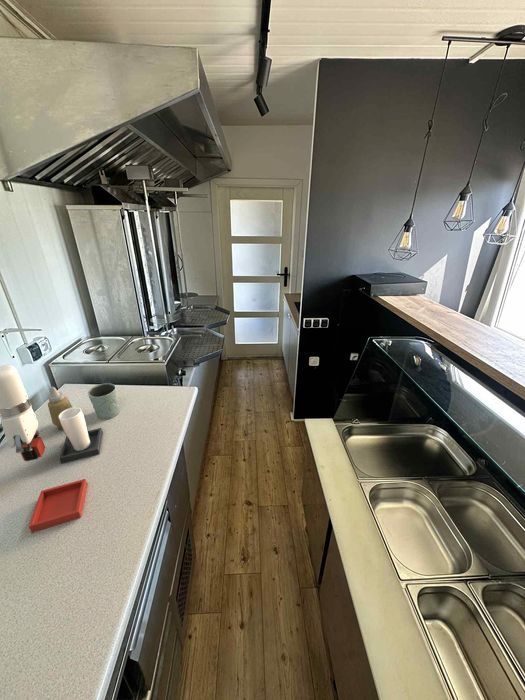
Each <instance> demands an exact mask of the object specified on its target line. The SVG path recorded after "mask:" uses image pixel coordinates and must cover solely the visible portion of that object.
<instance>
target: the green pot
mask: <svg viewBox="0 0 525 700" xmlns="http://www.w3.org/2000/svg"><path fill="white" fill-rule="evenodd" d="M87 395H88V398H89V400H90V402H91V404H92V407H93V409H94V412H95V416H96V417H97V419H99V420H101V421H106V420H111V419H113V418H115V417H116V416H118V415H119V413H120V404H119V400H118V393H117V386H116V385H115V384H113V383H111V382H104V383H100V384H96V385H94V386H93V387H91V388H90V389H89V390H88V391H87Z"/></svg>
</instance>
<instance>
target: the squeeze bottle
mask: <svg viewBox="0 0 525 700" xmlns="http://www.w3.org/2000/svg"><path fill="white" fill-rule="evenodd" d="M47 408H48V411H49V414H50V418H51V422H52V424H53V425H54V426H55V427H56V428H58V430H60V431H64V429H63V428H62V425H61V423H60V420H59V414H60V413H61V412H63V411H64V410H66V409H69V408H73V405H72V403H71V402H70V399H69V398H68V397H67V396H64V393H63V392H62V391H58V389H56V387H55V386H50V395H49V396H48V402H47Z"/></svg>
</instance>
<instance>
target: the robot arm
mask: <svg viewBox="0 0 525 700" xmlns="http://www.w3.org/2000/svg"><path fill="white" fill-rule="evenodd" d="M0 422H1V427H2V430H3V433H4V436H5V438H6V442H7V443H8V445H9V448H15V453H16V454H21V453H22V455H23V457H24V459H25V461H24V462H30V461H34V460H38V459H39V458H38V455H37V453H36V450H35V448H33V447H32V444H31V441H32V439H33V438H37V437H41V435H40V433H39V431H38V428H39V421H38V418H37V416H36V413H35V411H34V410H33V408H32V403H31V399H30V397H29V396H28V392H27V390H26V388H25V386H24V383H23V380H22V378H21V376H20V374H19V371H18V369H17V368H16V367H15V366H14V365H10V364H4V365H0ZM25 444H27V445H28V447H23V445H25ZM22 455H21V456H22ZM23 457H22V458H23ZM24 459H23V460H24Z"/></svg>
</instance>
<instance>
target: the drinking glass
mask: <svg viewBox="0 0 525 700" xmlns="http://www.w3.org/2000/svg"><path fill="white" fill-rule="evenodd" d="M72 407H73V406H72ZM59 420H60V423H61V425H62V428H63V429H64V430H63V432H64V433H65V435H66V436H67V437H68V438H69V440H70V442H71V444H72V446H73V448H74V450H76V451H82V450H85V449H86V448H88V447H89V446H90V443H91V442H90V439H89V435H88V431H89V430H88V428H87V422H86V418H85V415H84V413H83V410H82V409H81V407H77V406H75V407H73V408H69V409H66V410H64V411H63V412H61V413H60V414H59Z"/></svg>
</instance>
